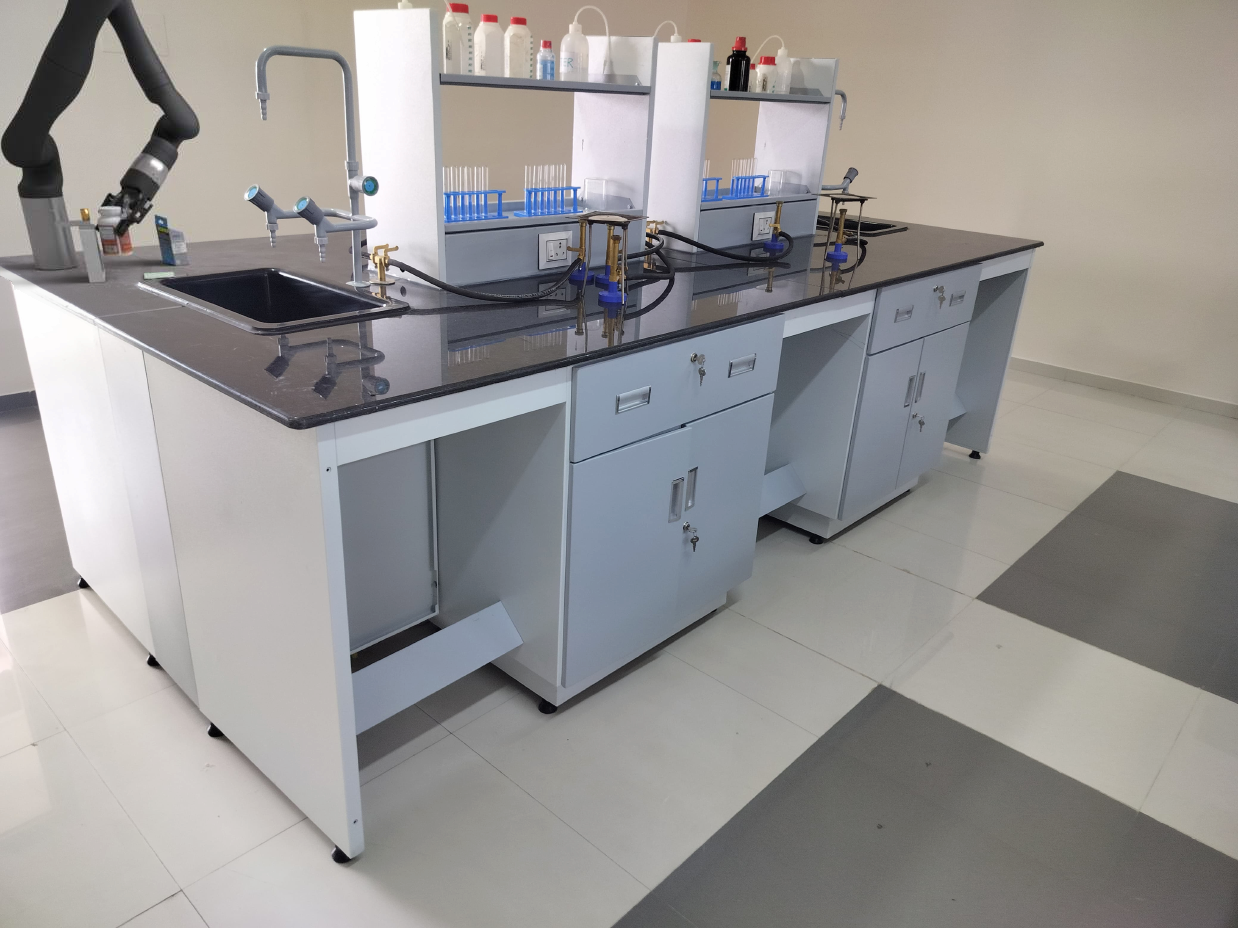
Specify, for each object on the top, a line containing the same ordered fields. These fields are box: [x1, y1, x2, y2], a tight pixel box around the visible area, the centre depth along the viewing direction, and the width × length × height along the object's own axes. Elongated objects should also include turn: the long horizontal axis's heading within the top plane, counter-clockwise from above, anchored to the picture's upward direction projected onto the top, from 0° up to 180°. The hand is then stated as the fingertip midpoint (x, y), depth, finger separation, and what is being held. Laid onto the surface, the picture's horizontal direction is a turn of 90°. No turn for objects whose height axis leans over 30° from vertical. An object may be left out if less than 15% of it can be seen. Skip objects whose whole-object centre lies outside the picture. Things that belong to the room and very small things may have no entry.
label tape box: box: [154, 214, 190, 267], centre depth 226 cm, size 9×4×12 cm, turn 46°
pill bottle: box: [96, 206, 134, 258], centre depth 204 cm, size 6×6×11 cm
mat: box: [143, 271, 175, 280], centre depth 212 cm, size 6×6×1 cm
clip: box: [55, 208, 92, 228], centre depth 199 cm, size 2×7×4 cm, turn 117°
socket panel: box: [77, 223, 106, 284], centre depth 205 cm, size 9×3×13 cm, turn 27°
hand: (108, 233), depth 203 cm, fingers closed on pill bottle, 6 cm apart
